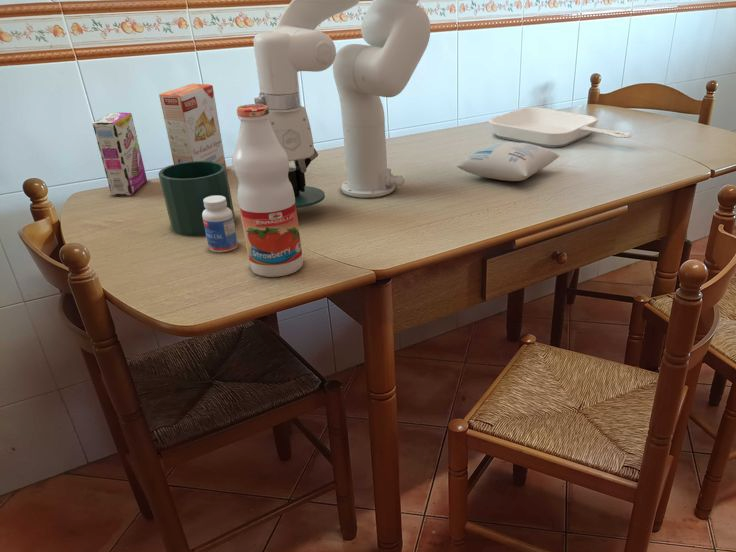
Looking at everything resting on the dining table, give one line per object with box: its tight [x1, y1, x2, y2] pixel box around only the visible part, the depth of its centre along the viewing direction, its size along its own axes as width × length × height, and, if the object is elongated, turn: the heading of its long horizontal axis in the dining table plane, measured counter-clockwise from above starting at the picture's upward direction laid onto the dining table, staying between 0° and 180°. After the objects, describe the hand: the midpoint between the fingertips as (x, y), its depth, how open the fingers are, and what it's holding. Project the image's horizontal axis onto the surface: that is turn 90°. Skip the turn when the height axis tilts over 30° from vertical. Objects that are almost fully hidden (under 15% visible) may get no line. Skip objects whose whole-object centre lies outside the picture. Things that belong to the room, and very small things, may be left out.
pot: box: [158, 161, 236, 237], centre depth 135 cm, size 12×12×12 cm
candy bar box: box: [92, 112, 148, 197], centre depth 152 cm, size 11×5×16 cm, turn 5°
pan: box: [488, 106, 633, 148], centre depth 197 cm, size 27×42×5 cm, turn 54°
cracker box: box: [158, 83, 227, 170], centre depth 159 cm, size 14×6×21 cm, turn 168°
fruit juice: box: [231, 103, 304, 278], centre depth 113 cm, size 9×9×28 cm
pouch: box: [455, 141, 561, 182], centre depth 165 cm, size 8×19×20 cm
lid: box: [288, 166, 326, 209], centre depth 140 cm, size 14×14×7 cm
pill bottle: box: [202, 196, 238, 253], centre depth 125 cm, size 6×5×10 cm
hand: (291, 191), depth 141 cm, fingers closed on lid, 3 cm apart
